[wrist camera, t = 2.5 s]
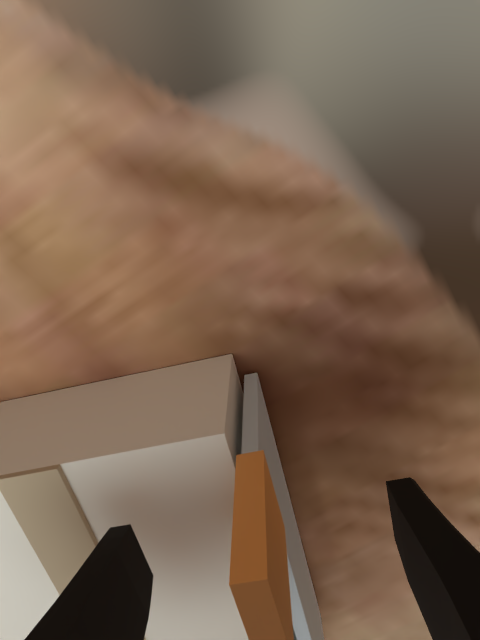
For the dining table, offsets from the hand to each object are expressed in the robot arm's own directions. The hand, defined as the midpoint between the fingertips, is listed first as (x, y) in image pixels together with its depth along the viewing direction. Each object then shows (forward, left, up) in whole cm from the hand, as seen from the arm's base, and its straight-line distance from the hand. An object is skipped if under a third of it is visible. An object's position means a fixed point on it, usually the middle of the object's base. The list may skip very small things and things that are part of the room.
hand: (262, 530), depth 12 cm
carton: (-6, +7, -6) cm, 11 cm away
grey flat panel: (-6, 0, -6) cm, 8 cm away
